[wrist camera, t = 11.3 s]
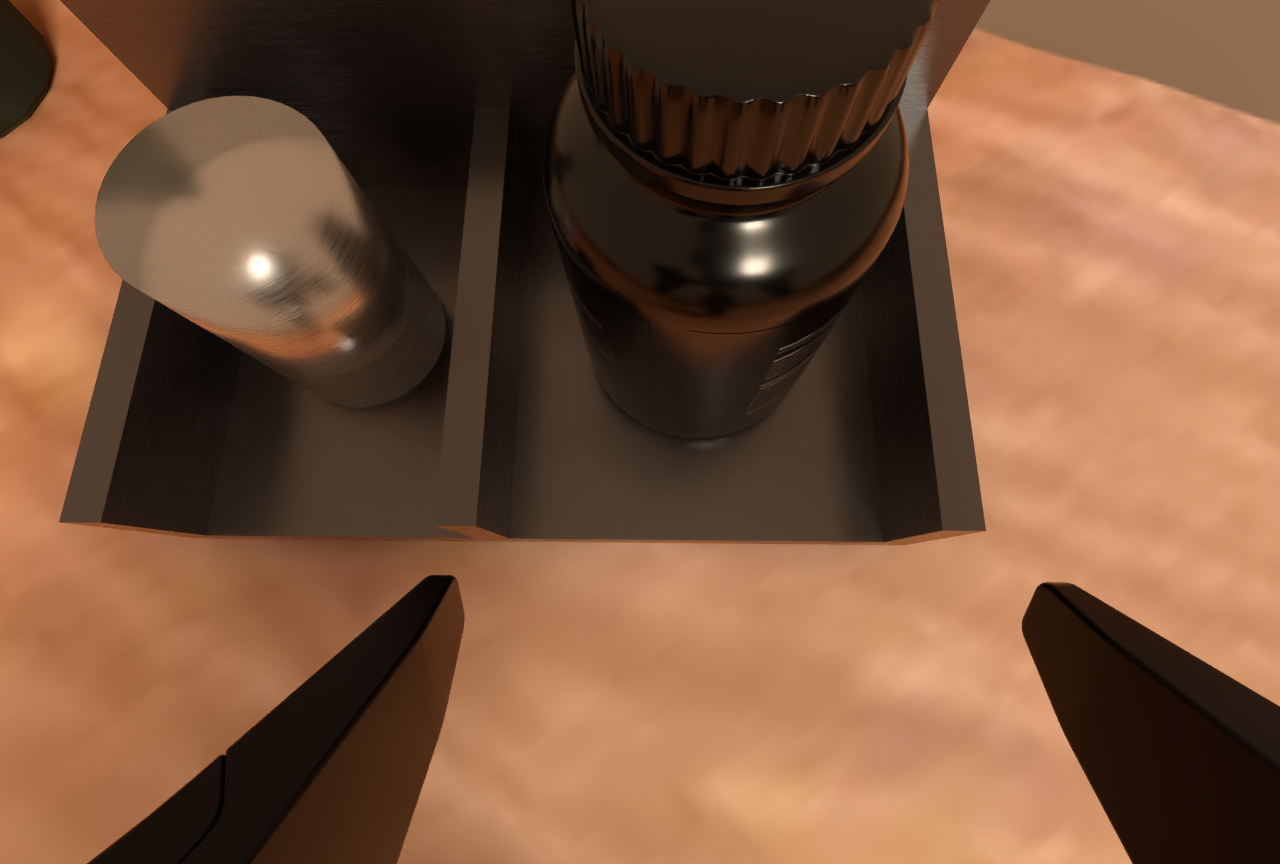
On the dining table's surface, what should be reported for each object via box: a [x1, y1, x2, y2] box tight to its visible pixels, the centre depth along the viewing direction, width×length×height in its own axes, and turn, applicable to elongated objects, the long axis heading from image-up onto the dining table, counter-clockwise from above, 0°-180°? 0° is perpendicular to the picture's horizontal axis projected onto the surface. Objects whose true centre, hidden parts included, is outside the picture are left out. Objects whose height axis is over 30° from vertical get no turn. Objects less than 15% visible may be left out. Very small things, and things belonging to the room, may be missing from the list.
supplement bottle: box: [542, 0, 940, 438], centre depth 13 cm, size 7×7×12 cm
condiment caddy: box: [59, 0, 990, 545], centre depth 16 cm, size 13×22×8 cm, turn 89°
